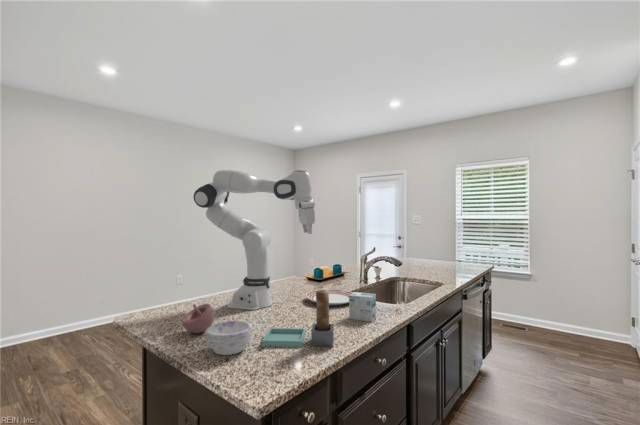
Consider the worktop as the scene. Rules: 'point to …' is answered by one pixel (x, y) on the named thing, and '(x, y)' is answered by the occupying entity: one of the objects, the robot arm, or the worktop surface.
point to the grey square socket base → (322, 336)
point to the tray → (284, 337)
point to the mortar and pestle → (199, 318)
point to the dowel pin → (322, 310)
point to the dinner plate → (332, 296)
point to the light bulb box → (362, 306)
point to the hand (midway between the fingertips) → (307, 233)
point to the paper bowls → (229, 337)
